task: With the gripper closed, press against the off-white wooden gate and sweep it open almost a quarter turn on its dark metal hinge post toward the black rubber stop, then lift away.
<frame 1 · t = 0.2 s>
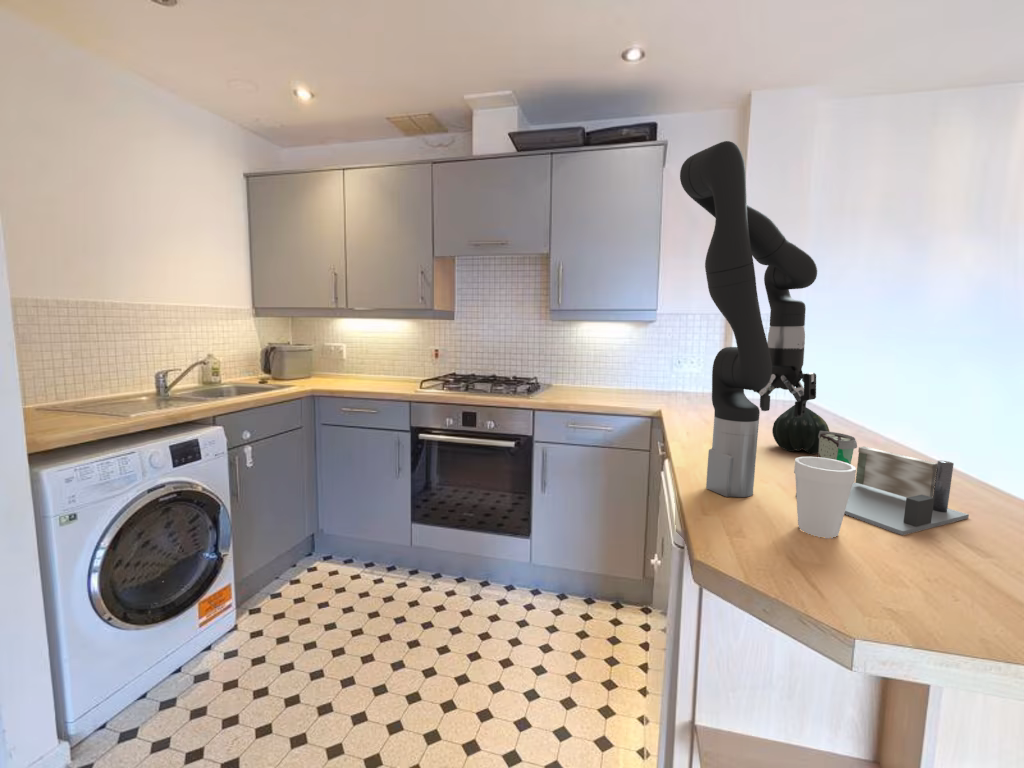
hand: (781, 413, 112), 17 cm above the worktop, tool pointing down, fingers open, 8 cm apart
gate: (893, 473, 104), point 6 cm above the worktop, hinge at 0.0°
squash: (798, 450, 146), on the worktop
gate frame: (938, 513, 97), on the worktop
foam cup: (817, 531, 88), on the worktop
food container: (838, 474, 123), on the worktop
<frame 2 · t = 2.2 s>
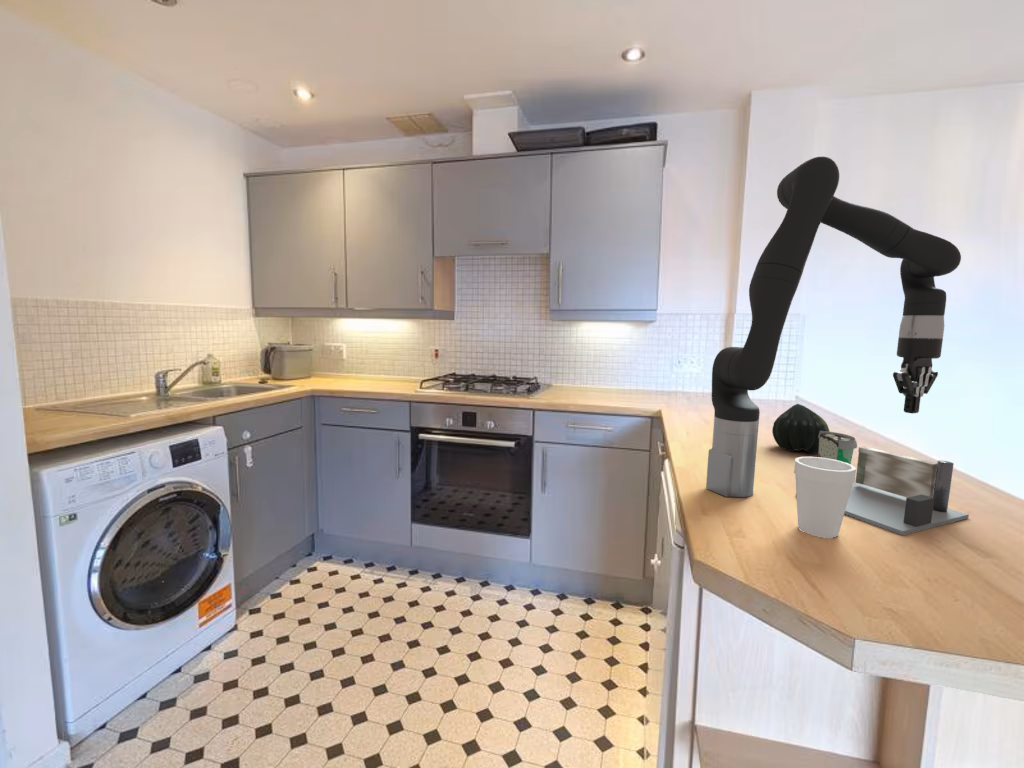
hand: (911, 412, 107), 19 cm above the worktop, tool pointing down, fingers closed
nothing on the worktop moved.
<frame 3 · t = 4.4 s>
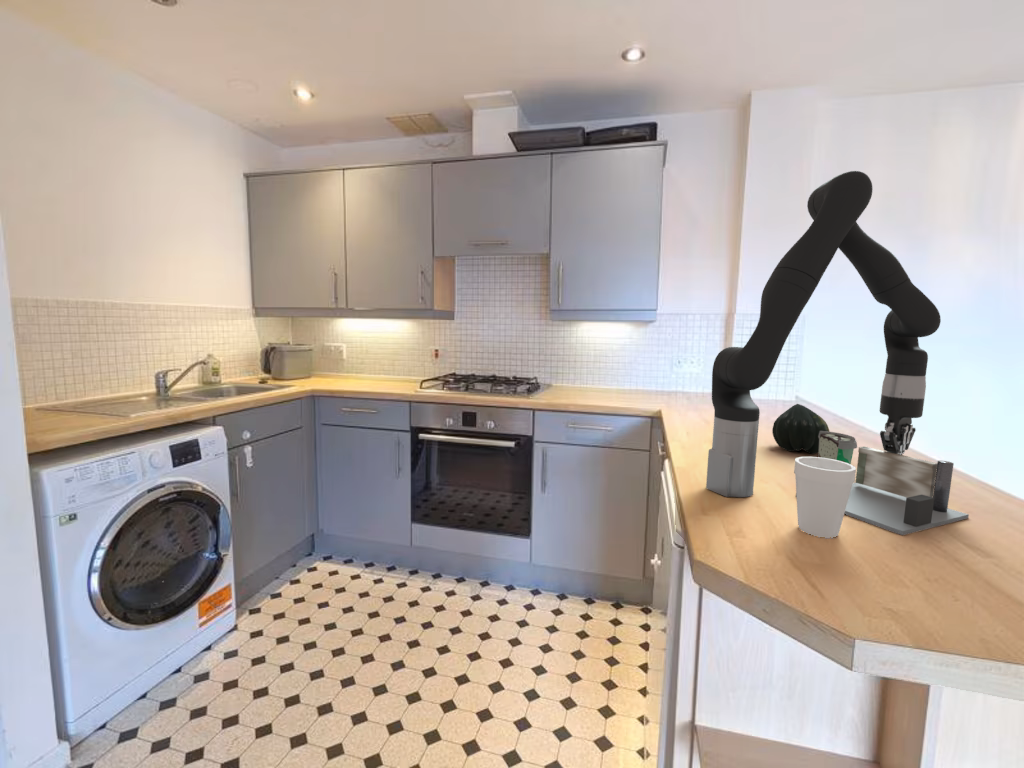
hand: (893, 468, 108), 6 cm above the worktop, tool pointing down, fingers closed
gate: (893, 473, 104), point 6 cm above the worktop, hinge at 0.1°, touching gripper
everything else where it was.
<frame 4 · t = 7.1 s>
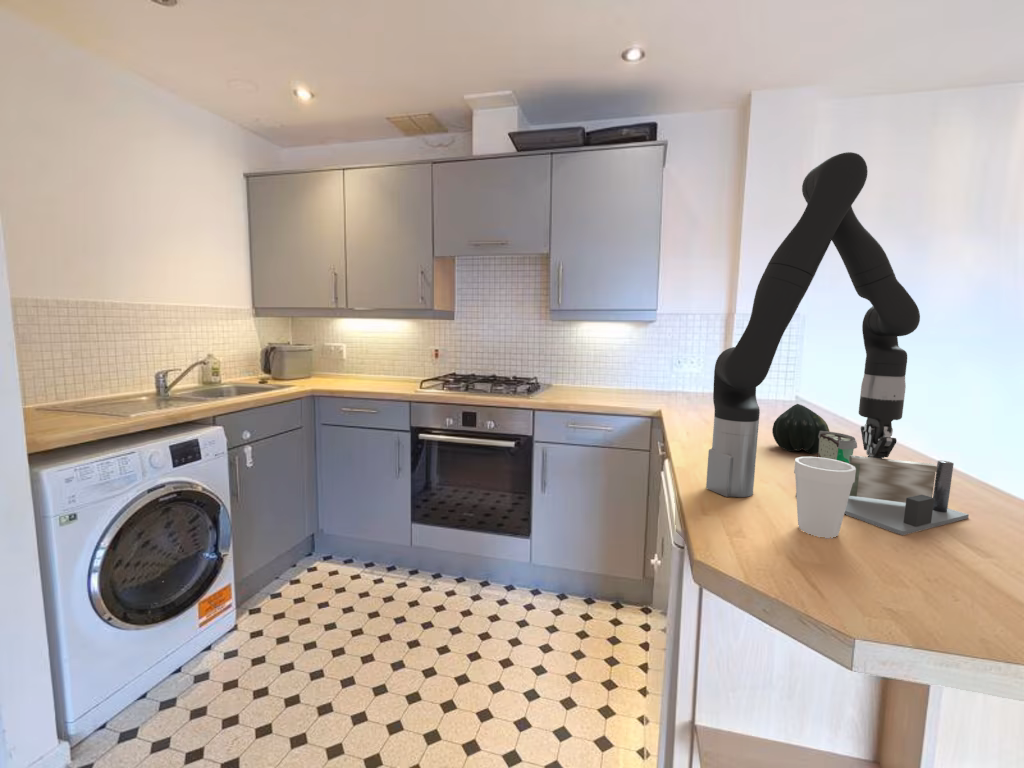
hand: (873, 472, 104), 6 cm above the worktop, tool pointing down, fingers closed
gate: (889, 480, 100), point 6 cm above the worktop, hinge at 44.1°, touching gripper
everything else where it was.
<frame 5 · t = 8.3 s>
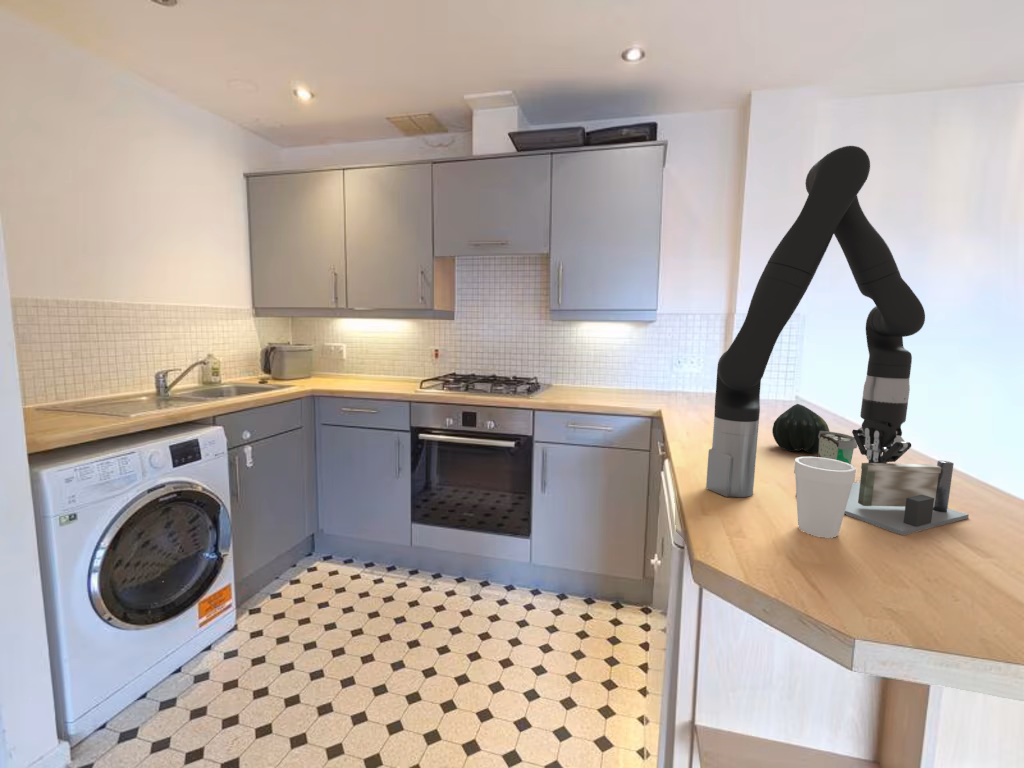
hand: (874, 478, 100), 6 cm above the worktop, tool pointing down, fingers closed
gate: (898, 485, 96), point 6 cm above the worktop, hinge at 65.8°, touching gripper
everything else where it was.
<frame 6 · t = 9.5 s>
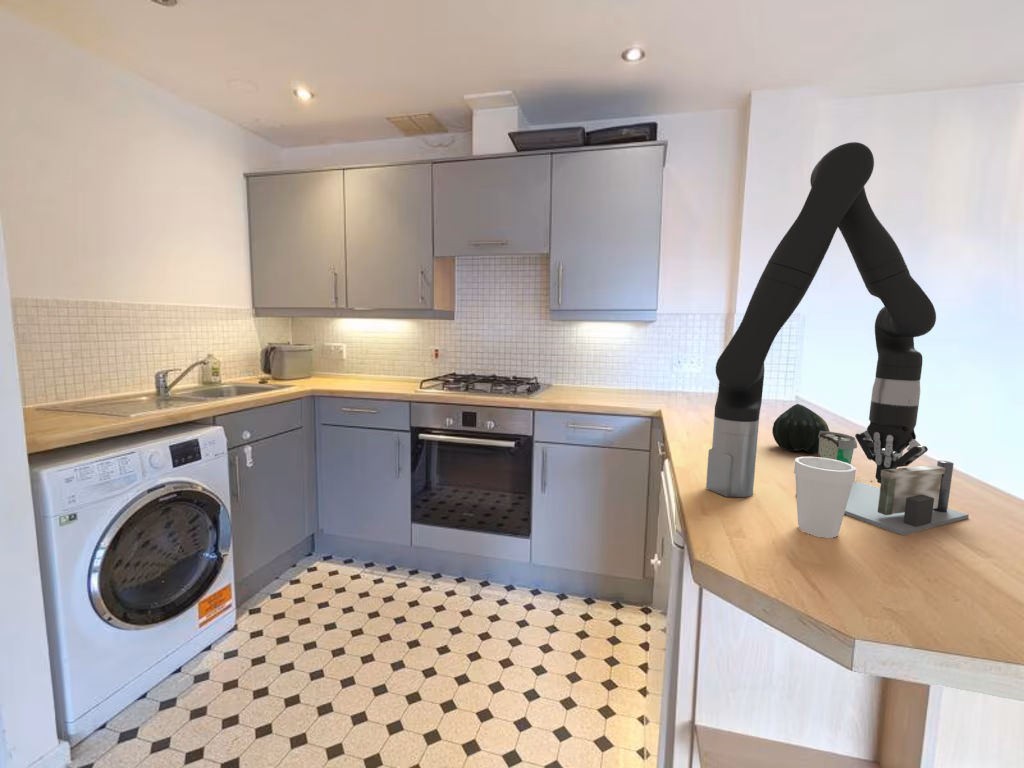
hand: (884, 483, 97), 6 cm above the worktop, tool pointing down, fingers closed
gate: (910, 489, 94), point 6 cm above the worktop, hinge at 83.2°, touching gripper
everything else where it was.
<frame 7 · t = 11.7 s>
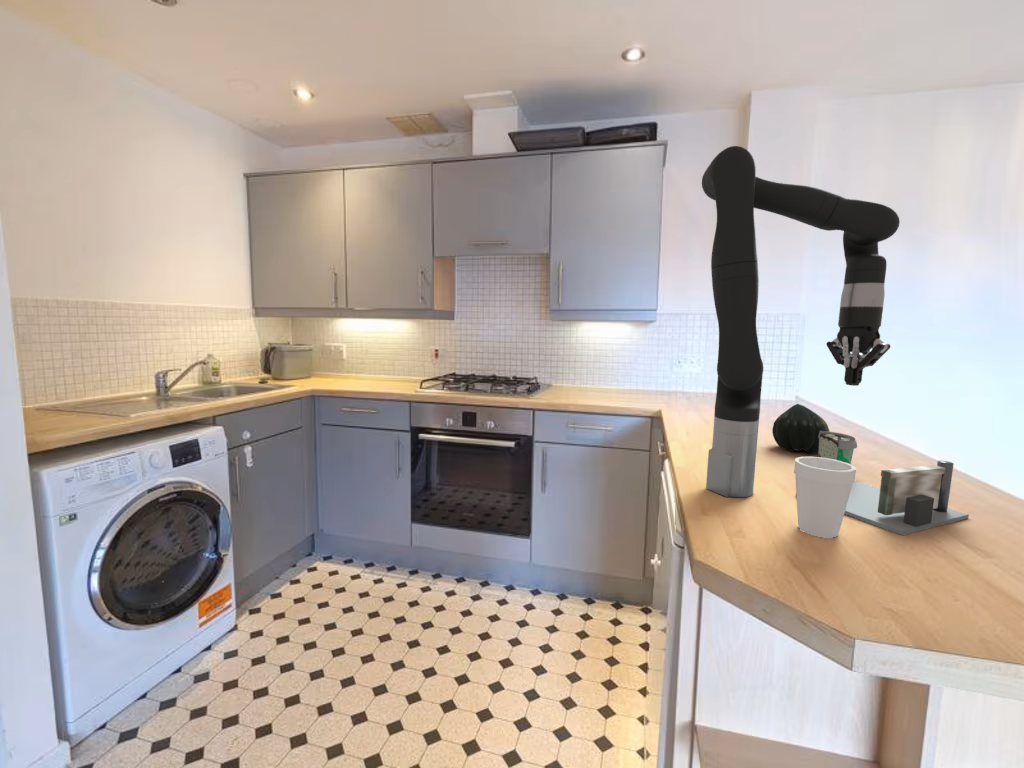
hand: (852, 384, 103), 25 cm above the worktop, tool pointing down, fingers closed
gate: (910, 489, 94), point 6 cm above the worktop, hinge at 83.2°
everything else where it was.
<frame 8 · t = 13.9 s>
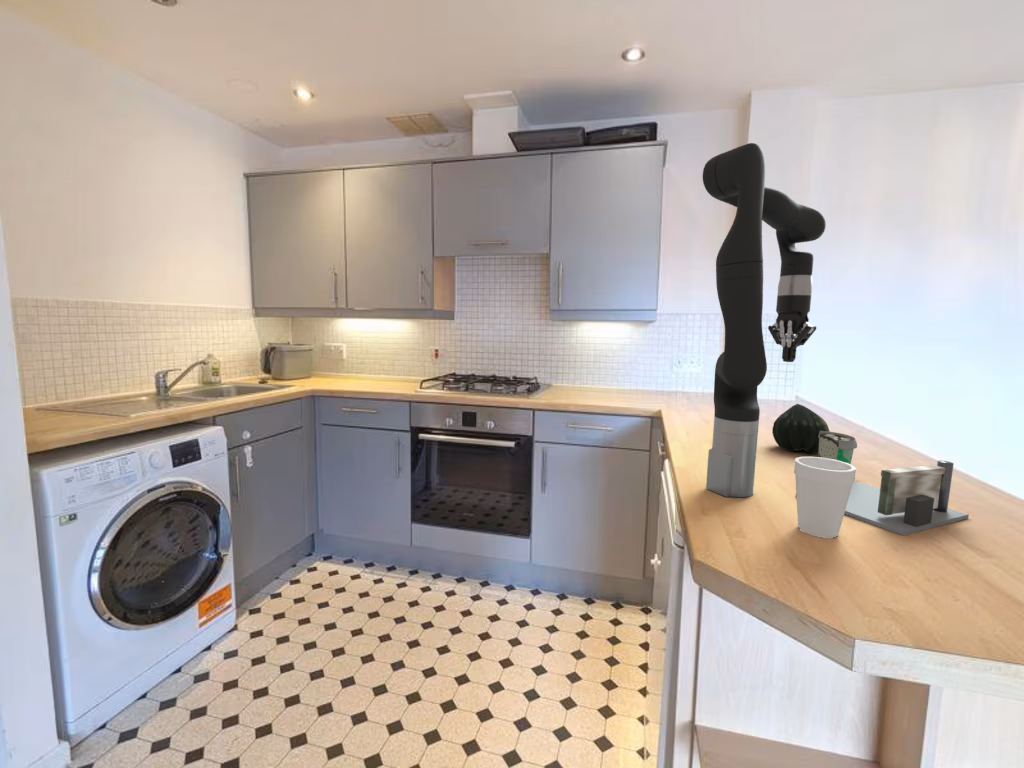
hand: (788, 361, 122), 29 cm above the worktop, tool pointing down, fingers closed
nothing on the worktop moved.
at the end: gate at +83° (first picture: +0°); food container moved 0.2 cm from its start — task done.
